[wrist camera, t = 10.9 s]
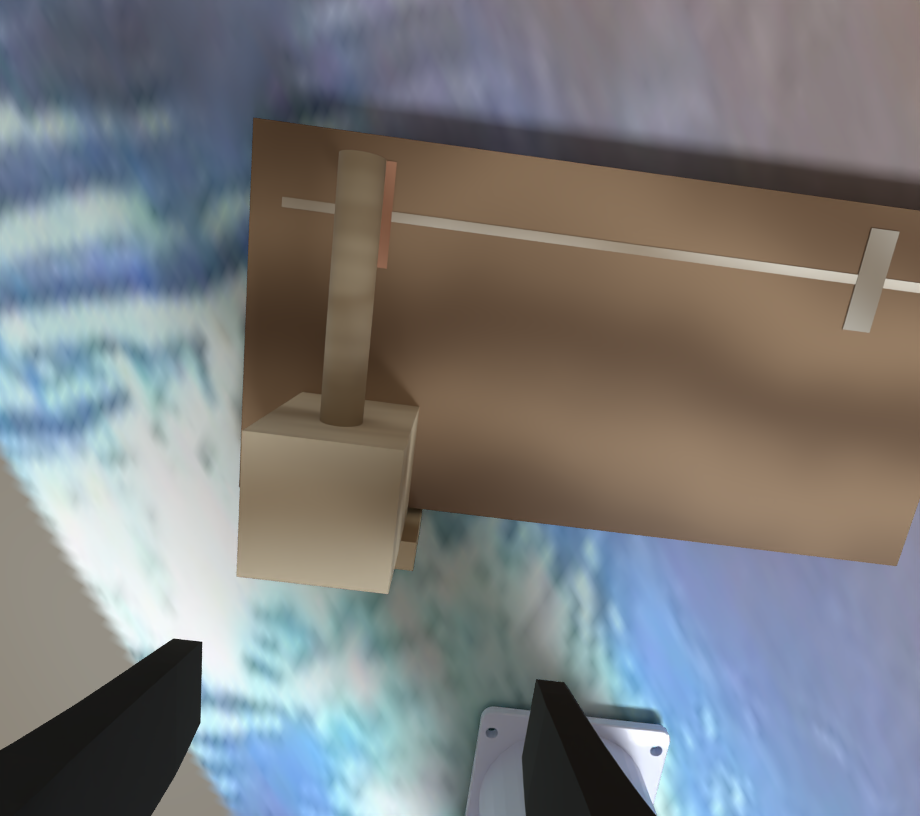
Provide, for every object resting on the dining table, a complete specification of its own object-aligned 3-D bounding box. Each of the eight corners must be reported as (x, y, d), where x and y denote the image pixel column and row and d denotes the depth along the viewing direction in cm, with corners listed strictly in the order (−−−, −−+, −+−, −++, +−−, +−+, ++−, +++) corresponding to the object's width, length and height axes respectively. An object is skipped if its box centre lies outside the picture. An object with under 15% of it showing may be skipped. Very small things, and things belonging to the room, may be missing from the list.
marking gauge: (420, 527, 20) (403, 629, 14) (290, 512, 20) (216, 608, 14) (460, 198, 17) (460, 149, 11) (310, 178, 17) (231, 118, 11)
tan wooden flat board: (865, 546, 21) (897, 566, 19) (255, 472, 20) (238, 487, 18) (969, 229, 18) (1015, 223, 16) (270, 132, 17) (252, 117, 16)
